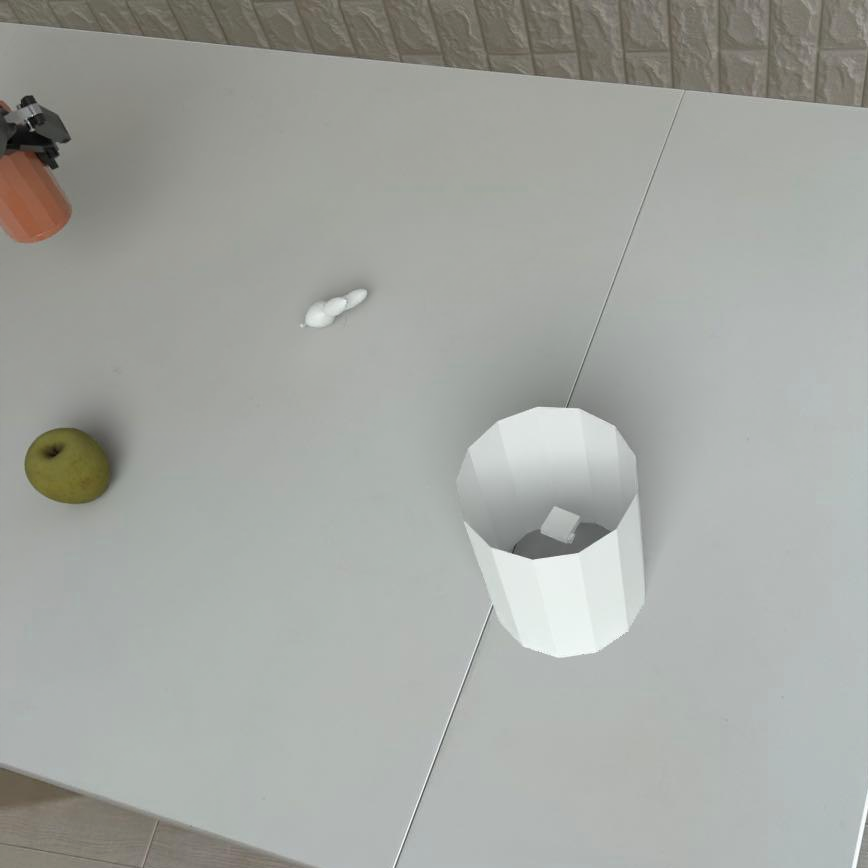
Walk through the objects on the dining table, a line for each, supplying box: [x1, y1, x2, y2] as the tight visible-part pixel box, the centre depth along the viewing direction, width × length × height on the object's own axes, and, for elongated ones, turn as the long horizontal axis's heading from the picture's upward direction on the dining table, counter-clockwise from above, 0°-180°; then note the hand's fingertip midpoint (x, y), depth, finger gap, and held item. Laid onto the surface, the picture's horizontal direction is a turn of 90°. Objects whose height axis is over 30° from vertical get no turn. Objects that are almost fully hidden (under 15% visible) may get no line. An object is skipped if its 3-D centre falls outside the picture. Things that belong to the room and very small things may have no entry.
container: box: [454, 406, 646, 659], centre depth 90 cm, size 14×14×18 cm
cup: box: [0, 99, 73, 244], centre depth 106 cm, size 7×7×12 cm
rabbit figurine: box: [299, 288, 368, 329], centre depth 117 cm, size 6×4×8 cm
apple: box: [23, 427, 111, 505], centre depth 108 cm, size 8×8×7 cm
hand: (11, 172), depth 110 cm, fingers closed on cup, 7 cm apart
